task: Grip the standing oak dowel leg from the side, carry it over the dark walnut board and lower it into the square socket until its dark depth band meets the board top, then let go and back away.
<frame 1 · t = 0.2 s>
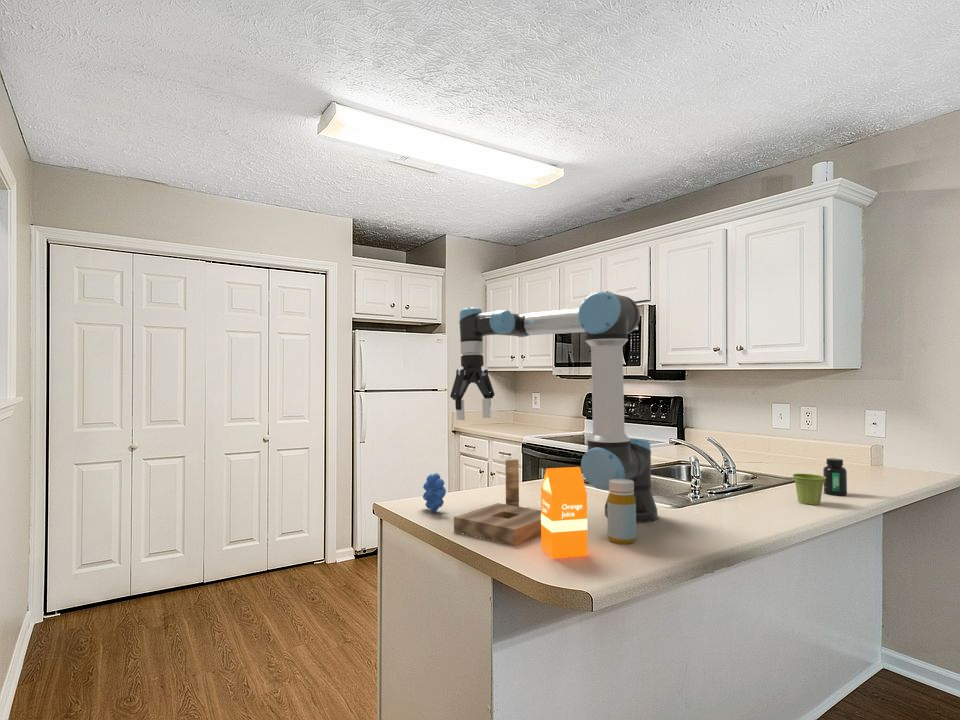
hand: (474, 419, 187), 27 cm above the countertop, tool pointing down, fingers open, 13 cm apart
bottle: (622, 541, 144), on the countertop
orange juice: (564, 553, 135), on the countertop
grapes: (436, 511, 175), on the countertop
walnut board: (505, 529, 154), on the countertop
supplement bottle: (835, 494, 195), on the countertop
oak leg: (512, 513, 172), on the countertop
plant pot: (809, 503, 183), on the countertop
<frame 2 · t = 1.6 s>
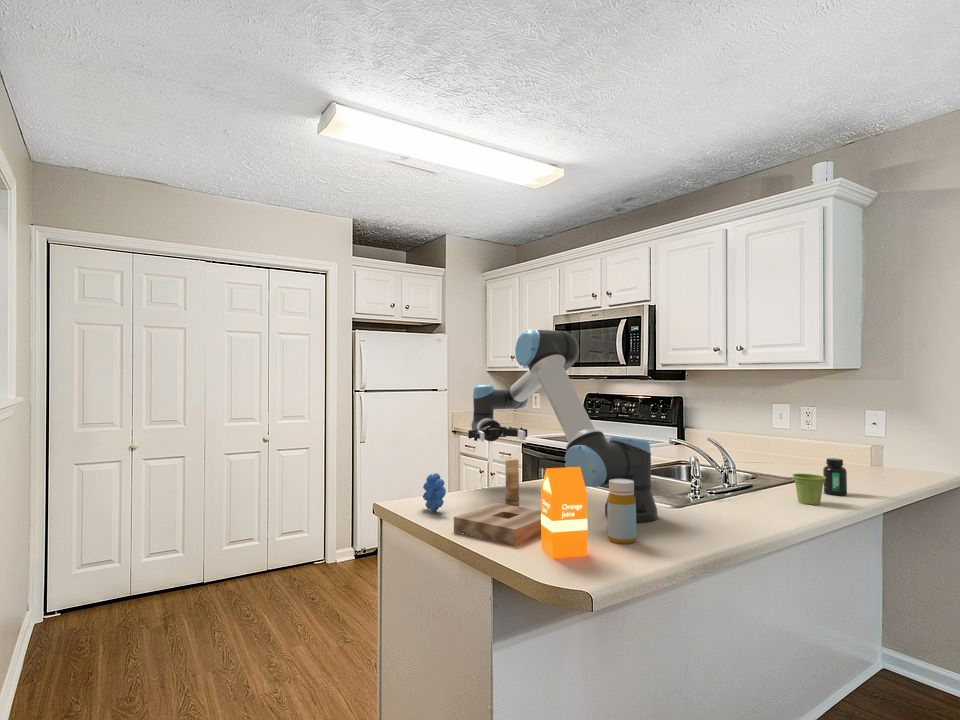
hand: (504, 436, 182), 22 cm above the countertop, tool horizontal, fingers open, 13 cm apart
nothing on the countertop moved.
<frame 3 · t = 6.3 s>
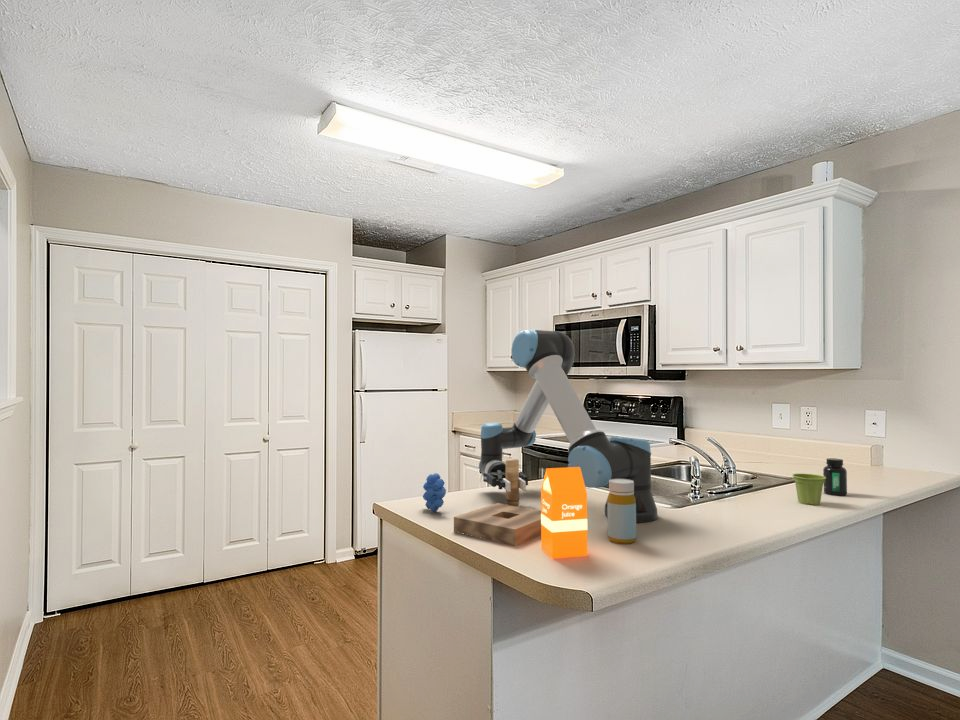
hand: (517, 486, 167), 9 cm above the countertop, tool horizontal, fingers closed on oak leg, 4 cm apart
oak leg: (512, 513, 172), on the countertop, touching gripper
everything else where it was.
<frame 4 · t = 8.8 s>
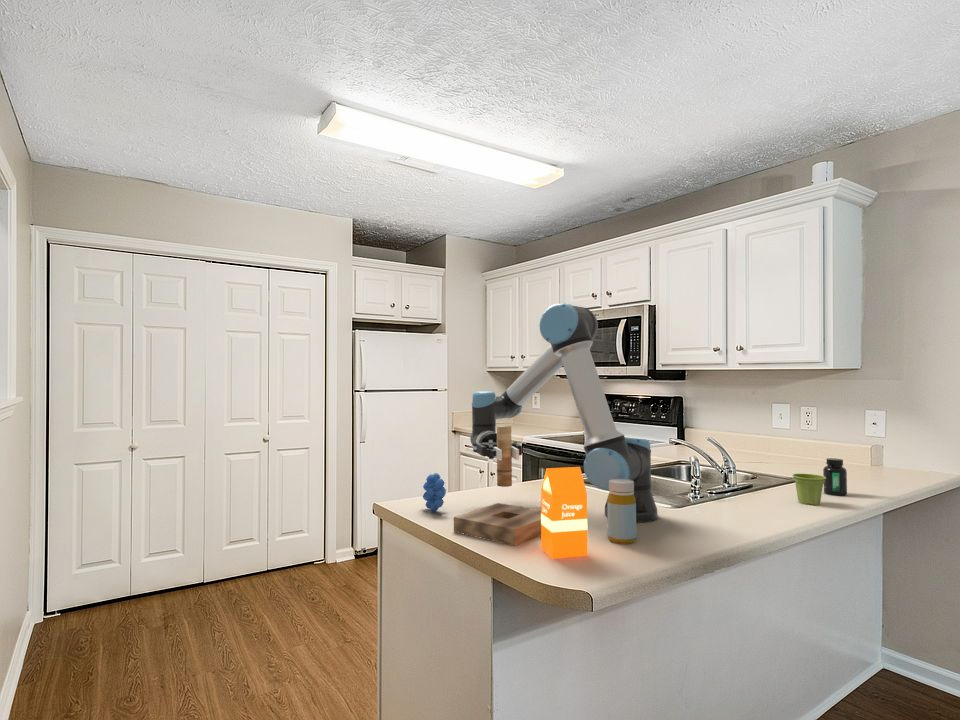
hand: (509, 454, 150), 21 cm above the countertop, tool horizontal, fingers closed on oak leg, 4 cm apart
oak leg: (504, 485, 155), point 12 cm above the countertop, touching gripper
everything else where it was.
when the fingers open (10 cm above the countertop, at t = 11.6 s): oak leg drops 1 cm, resting in walnut board.
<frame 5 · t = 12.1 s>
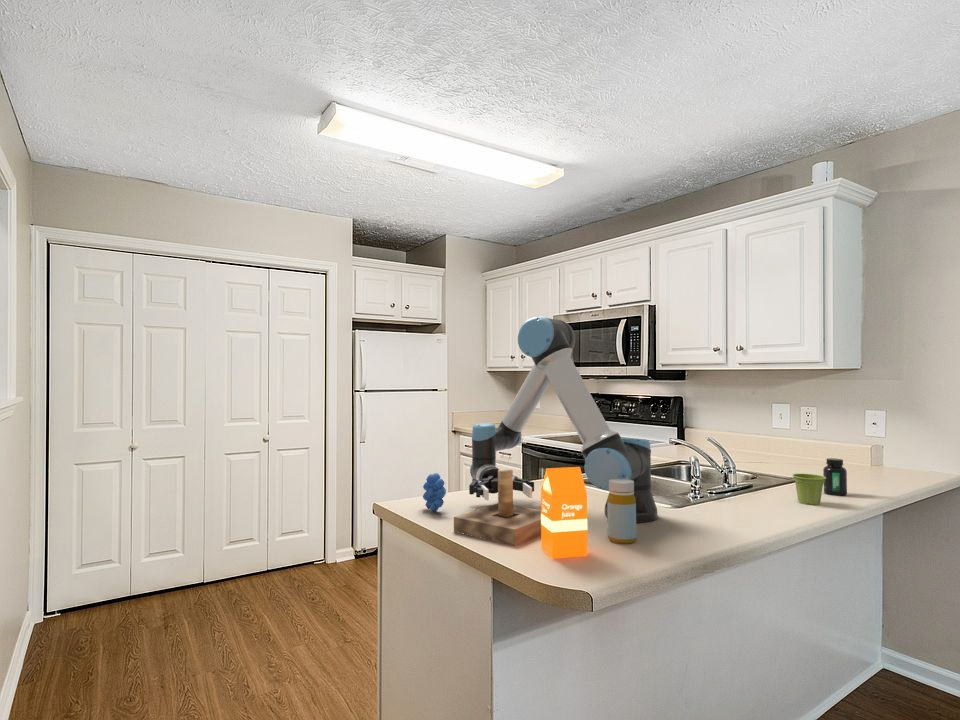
hand: (509, 494, 150), 10 cm above the countertop, tool horizontal, fingers open, 11 cm apart
oak leg: (505, 529, 154), resting in walnut board
everything else where it was.
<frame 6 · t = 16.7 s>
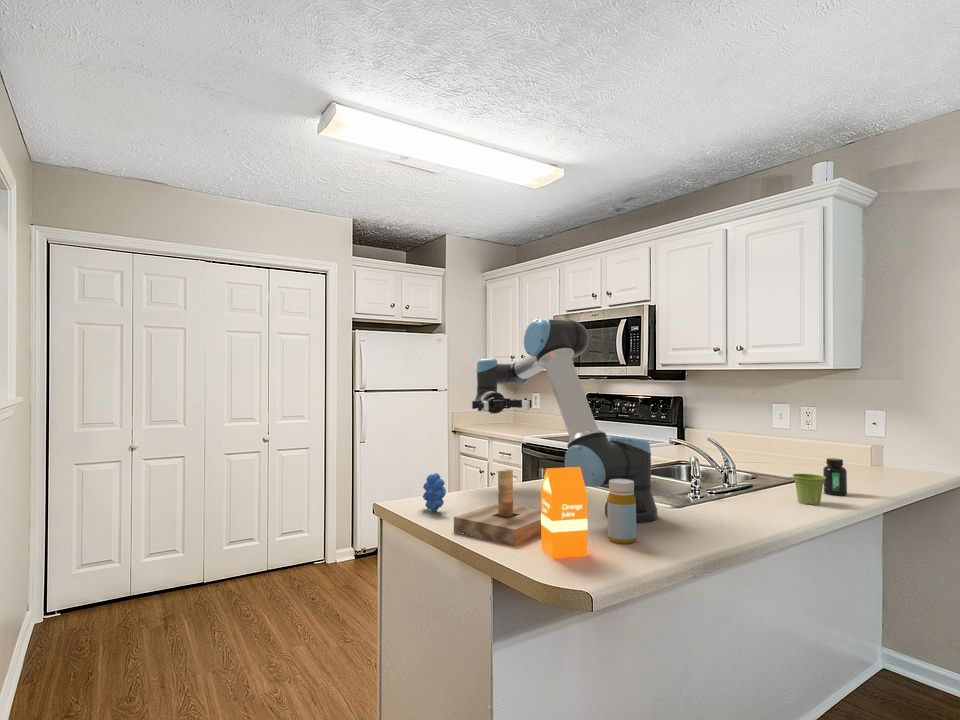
hand: (508, 405, 180), 32 cm above the countertop, tool horizontal, fingers open, 13 cm apart
nothing on the countertop moved.
at the end: oak leg 0.1 cm off-centre on the walnut board, point 0.0 cm above the walnut board's base; oak leg tilted 0°; the gripper is holding nothing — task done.
